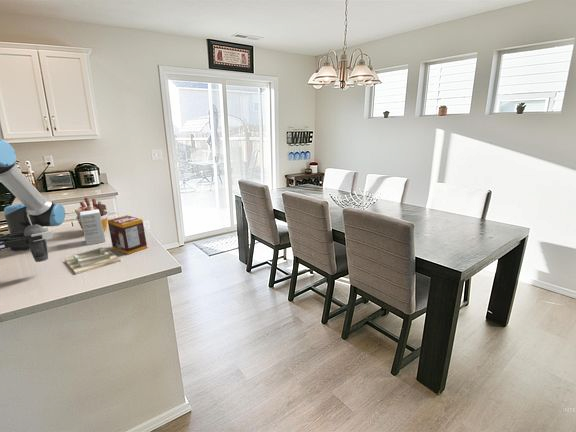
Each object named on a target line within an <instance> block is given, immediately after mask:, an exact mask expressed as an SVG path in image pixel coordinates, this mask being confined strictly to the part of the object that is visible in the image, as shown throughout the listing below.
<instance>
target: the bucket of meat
mask: <svg viewBox="0 0 576 432" xmlns="http://www.w3.org/2000/svg"><path fill="white" fill-rule="evenodd" d="M84 202H85V203H84ZM84 202H83V201H80V202H79V205H80V207H78V208H77V209H75V210H74V212H75V213H76V217H75V219H76V220H77V223H78V224H79V226H80V228H81V230H82V233H84V231H83V227H82V223H81V218H80V212H83V211H90V210H97V209H99V212H100V215H101V220H102V225H103V230H104V232H105V231H106V230H107V227H108V215H109V211H108V210H107V206H106V205H105V204H102V200H98V201H97V200H96V199H95V198H92V199H91V202H92V204H91V202H90V200H89V198H88V197H84Z"/></svg>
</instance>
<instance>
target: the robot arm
mask: <svg viewBox="0 0 576 432" xmlns="http://www.w3.org/2000/svg"><path fill="white" fill-rule="evenodd" d="M15 153H16V151H15V149H14V147H13V146H12V145H11V144H10V143H9V142H7V141H5V140H4V139H1V138H0V183H1V184H2V185H4V187H5V188H7V190H9V192H10V193H11V194H12V195H13V196H14V197H15V198H16V199H17V200H18V201H20V202H19V203H15V204H11V205H7V206H5V207H4V209H3V213H4V217H5V221H6V225H7V227H8V231H9V233H6V234H2V235H0V251H3V250H7V249H9V250H10V251H14V252H15V251H25V250H26V251H27V250H30V248H29V245H28V244H33V242H34V241H39V240H44V239H46V240H48V239H52V238H53V233H52V231H51V230H49V228H48V227H57V226H61V225H62V224H63V223H64V221H65V219H66V209H65V207H64V206H63V205H62V204H60V203H54V201H52V199H50V198H49V197H44V196H43V194H42V193H40V192H39V190H38V189H37V188H36V187H35V186H34V185H33V184H32V183H31V182H30V180H29V179H28V178H27V177H26V176H25V175H24V174H23V173H22V171H21V170H20V169H19V168H18V167H17V166H16V165H17V154H15ZM27 214H28V215H29V218H30V220H31V223H32V224H37V225H40V226H42V227H43V228H44V229H45V231H46V232H43V233H39V234H34V235H31V236H27V237H24V230H25V228H26V227H27V226H29V225H30V222H29V220H28V217H27Z"/></svg>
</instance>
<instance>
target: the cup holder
mask: <svg viewBox="0 0 576 432" xmlns="http://www.w3.org/2000/svg"><path fill="white" fill-rule="evenodd" d="M72 256H73V257H69V258H65V259H64V262H65V263H66V264H67V266H68V267H69V268H70V270H72V272H73V273H74V274H75V275H78V274H81V273H82V274H83V273H85V272H89V271H92V270H95V269H99V268H103V267H106V266H109V265H112V264H116V263H119V262H120V263H121V258H120V257H118V255H116V254H114V253H113V252H112V251H111V250H110V249H108V248H103V247H99V248H95V249H92V250H88V251H87V250H86V251H83V252H80V253H79V252H78V253H75V254H73V255H72Z"/></svg>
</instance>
